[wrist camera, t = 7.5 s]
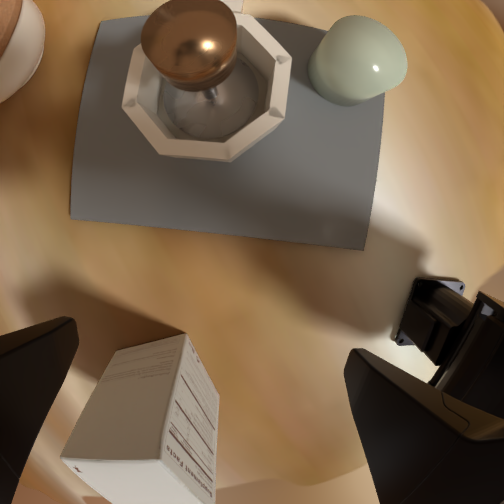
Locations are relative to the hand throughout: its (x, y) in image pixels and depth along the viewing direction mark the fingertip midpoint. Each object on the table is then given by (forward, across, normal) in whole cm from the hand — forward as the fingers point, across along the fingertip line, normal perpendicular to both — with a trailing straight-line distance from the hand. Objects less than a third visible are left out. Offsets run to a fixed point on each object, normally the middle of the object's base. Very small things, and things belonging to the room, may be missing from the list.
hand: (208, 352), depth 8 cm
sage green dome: (+12, -6, -14) cm, 19 cm away
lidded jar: (+13, +21, -15) cm, 29 cm away
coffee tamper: (+11, +2, -10) cm, 15 cm away
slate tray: (+13, +1, -9) cm, 16 cm away
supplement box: (+13, +4, +12) cm, 18 cm away
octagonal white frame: (+12, +2, -10) cm, 16 cm away
